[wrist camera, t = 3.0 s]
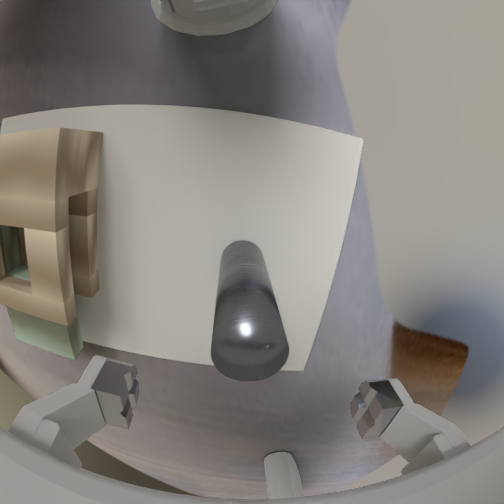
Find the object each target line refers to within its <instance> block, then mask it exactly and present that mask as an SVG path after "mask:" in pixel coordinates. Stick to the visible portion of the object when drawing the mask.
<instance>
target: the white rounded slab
mask: <svg viewBox="0 0 504 504" xmlns="http://www.w3.org/2000/svg"><path fill="white" fill-rule="evenodd" d="M264 468H265V477H266V485H267V493H268V499H283V498H296V497H304V493H303V488H302V484H301V479H300V475H299V471H298V468H297V465H296V463H295V461H294V459H293V457H292V455H291V454H290V453H287V452H276V453H272V454H269V455H267V457H265V458H264Z"/></svg>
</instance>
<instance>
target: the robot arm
mask: <svg viewBox="0 0 504 504" xmlns="http://www.w3.org/2000/svg"><path fill="white" fill-rule="evenodd" d="M136 375H137V368H136V365H134V364H130V363H126V362H122V361H118V360H114V359H111V358H106V357H103V356H99V355H95V356H93V358H92V359H91V361H90V362H89V364H88V366H87V367H86V369H85V371H84V372H83V374H82V376H81V377H80V379H79V381H78V383H77V384H75V383H72V384H70V385H68V386H66V387H64V388H62V389H59V390H57V391H55V392H53V393H51V394H49V395H47V396H44V397H42V398H40V399H38V400H36V401H34V402H32V403H29V404H27V405H25V406H23V407H22V409H21V410H20V412H19V414H18V415H17V417H16V418H15V420H14V422H13V423H12V425H11V427H10V428H9V430H8V431H6V430H4V429H3V428H1V427H0V504H504V427H502V428H501V429H499V430H498V431H496V432H494V433H493V434H491V435H490V436H488V437H486V438H485V439H483V440H481V441H479V442H477V443H476V444H474V445H472V446H470V445H469V443H468V441H467V440H466V439H465V437H464V435H463V434H462V432H461V431H460V429H459V428H458V426H456V425H454V424H452V423H451V422H449V421H447V420H445V419H443V418H441V417H440V416H438V415H436V414H435V413H433V412H431V411H429V410H428V409H426V408H424V407H422V406H421V405H419V404H414V402H413V401H412V399H411V397H410V396H409V394H408V393H407V391H406V390H405V388H404V387H403V385H402V384H401V382H400V381H399V380H398V379H397V378H391V379H382V380H372V381H364V382H363V383H361V385H360V387H359V391H360V392H359V393H358V394H357V395H355V396H354V398H353V400H352V402H351V414H352V417H353V419H355V420H356V421H358V424H357V429H358V431H359V434H360V436H361V439H366V438H372V437H378V436H380V438H381V439H382V440H383V441H385V442H386V443H387V444H388V445H389V446H390V447H392V448H393V449H394V450H395V451H396V452H397V453H399V454H400V455H401V456H402V457H403V458H404V459H406V460H407V461H408V462H409V463H408V464H407V465H406V466H405V467H404V468H403V469H402V471H401V473H402V476H399V477H396V478H393V479H389V480H386V481H383V482H379V483H375V484H371V485H367V486H363V487H359V488H355V489H350V490H345V491H340V492H334V493H328V494H321V495H314V496H306V497H296V498H283V499H257V500H247V499H220V498H207V497H198V496H188V495H182V494H176V493H170V492H164V491H159V490H154V489H149V488H145V487H140V486H136V485H132V484H128V483H125V482H121V481H118V480H114V479H111V478H108V477H105V476H102V475H99V474H96V473H93V472H90V471H87V470H85V469H82V468H81V465H82V463H81V461H80V460H79V458H78V457H77V455H76V454H75V452H74V450H73V449H74V448H76V447H77V446H78V445H80V444H81V443H82V442H84V441H85V440H86V439H88V438H89V437H90V436H92V435H93V434H94V433H96V432H97V431H98V430H100V429H101V428H102V427H104V426H105V425H106V424H110V425H114V426H118V427H122V428H126V429H129V426H130V423H131V420H132V417H133V413H132V408H134V407H135V406H136V404H137V401H138V396H139V382H138V381H137V380H136Z"/></svg>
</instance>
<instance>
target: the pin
mask: <svg viewBox="0 0 504 504" xmlns="http://www.w3.org/2000/svg"><path fill="white" fill-rule="evenodd" d="M288 356H289V345H288V341H287V338H286V334H285V330H284V327H283V323H282V320H281V316H280V313H279V309H278V306H277V302H276V299H275V295H274V292H273V288H272V285H271V281H270V278H269V274H268V271H267V267H266V264H265V260H264V257H263V254H262V251H261V250H260V248H259V247H258V246H257V245H256V244H254V243H252V242H250V241H246V240H239V241H235V242H233V243H231V244H229V245H228V246H227V247H226V248H225V249H224V251H223V253H222V255H221V261H220V269H219V278H218V287H217V295H216V304H215V314H214V323H213V333H212V343H211V359H212V362H213V364H214V366H215V367H216V368H217V369H218V370H219V371H220V372H221V373H222V374H224V375H226V376H227V377H230V378H232V379H235V380H240V381H257V380H261V379H265V378H268V377H270V376H272V375H273V374H275V373H277V372H278V371H279V370H280V369H281V368H282V367H283V366H284V365H285V363H286V361H287V359H288Z"/></svg>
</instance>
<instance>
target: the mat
mask: <svg viewBox="0 0 504 504" xmlns="http://www.w3.org/2000/svg"><path fill="white" fill-rule="evenodd" d="M49 128H70V129H80V130H88V131H96V132H103V137H102V145H101V154H100V164H99V177H98V194H97V259H98V276H99V290H98V292H97V293H96V294H95V295H94V296H93V297H92V298H90V297H85V296H81V295H76V294H74V295H75V302H76V308H77V314H78V315H77V316H78V321H79V327H80V332H81V336H82V341H85V342H89V343H93V344H97V345H101V346H105V347H109V348H113V349H118V350H122V351H127V352H131V353H136V354H141V355H146V356H152V357H157V358H163V359H169V360H176V361H182V362H189V363H197V364H204V365H213V366H214V364H213V362H212V359H211V343H212V333H213V323H214V314H215V304H216V295H217V287H218V278H219V269H220V261H221V255H222V253H223V251H224V249H225V248H226V247H227V246H228V245H229V244H231V243H233V242H235V241H239V240H246V241H250V242H252V243H254V244H256V245H257V246H258V247H259V248H260V250H261V251H262V254H263V257H264V260H265V264H266V267H267V271H268V274H269V278H270V281H271V285H272V288H273V292H274V295H275V299H276V302H277V306H278V309H279V313H280V316H281V320H282V323H283V327H284V330H285V334H286V338H287V341H288V345H289V356H288V359H287V361H286V363H285V365H284V366H283V367H282V368H281V369H280V370H279V371H304V368H305V365H306V362H307V359H308V357H309V354H310V351H311V348H312V345H313V342H314V339H315V336H316V333H317V330H318V327H319V324H320V321H321V318H322V315H323V311H324V308H325V305H326V302H327V298H328V295H329V291H330V288H331V284H332V281H333V277H334V274H335V270H336V266H337V263H338V259H339V255H340V251H341V247H342V243H343V239H344V235H345V231H346V226H347V222H348V218H349V213H350V209H351V204H352V199H353V195H354V190H355V185H356V179H357V174H358V169H359V163H360V157H361V151H362V145H363V139H361V138H357V137H354V136H350V135H347V134H343V133H340V132H336V131H332V130H328V129H325V128H321V127H316V126H312V125H308V124H304V123H299V122H294V121H289V120H284V119H279V118H274V117H268V116H263V115H257V114H250V113H243V112H236V111H229V110H220V109H211V108H200V107H188V106H171V105H101V106H85V107H73V108H63V109H55V110H47V111H40V112H34V113H28V114H23V115H17V116H12V117H8V118H3V119H2V125H1V133H0V135H3V134H9V133H15V132H22V131H30V130H39V129H49Z"/></svg>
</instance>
